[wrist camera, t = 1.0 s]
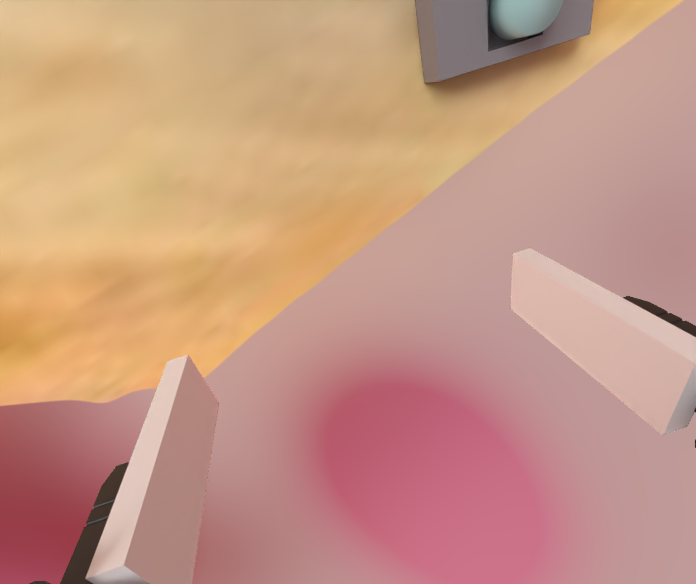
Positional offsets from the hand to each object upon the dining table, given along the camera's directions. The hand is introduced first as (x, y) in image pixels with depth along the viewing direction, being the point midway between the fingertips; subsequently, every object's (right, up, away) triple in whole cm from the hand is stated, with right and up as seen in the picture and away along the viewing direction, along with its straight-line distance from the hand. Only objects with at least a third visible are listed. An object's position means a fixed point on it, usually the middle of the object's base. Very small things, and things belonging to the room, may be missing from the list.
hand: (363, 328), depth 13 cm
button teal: (+13, +24, +13) cm, 31 cm away
